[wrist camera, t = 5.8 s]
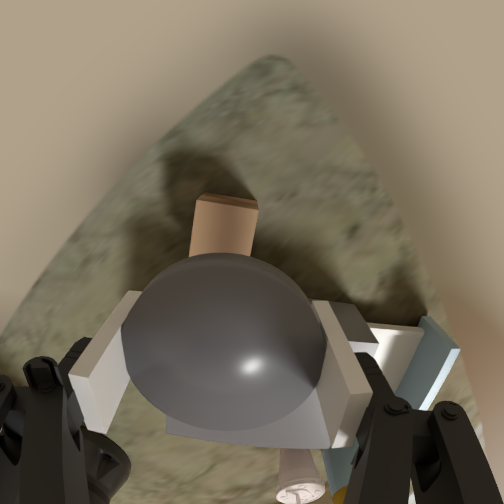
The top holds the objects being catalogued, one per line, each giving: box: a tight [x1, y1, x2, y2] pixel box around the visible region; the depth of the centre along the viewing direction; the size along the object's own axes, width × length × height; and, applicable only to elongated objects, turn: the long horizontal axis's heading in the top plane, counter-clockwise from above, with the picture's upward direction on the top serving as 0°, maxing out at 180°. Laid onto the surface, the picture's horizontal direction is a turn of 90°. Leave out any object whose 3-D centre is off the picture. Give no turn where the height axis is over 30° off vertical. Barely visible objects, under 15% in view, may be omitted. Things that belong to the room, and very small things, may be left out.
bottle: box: [322, 438, 359, 504], centre depth 34 cm, size 7×7×15 cm
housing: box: [166, 298, 379, 449], centre depth 32 cm, size 18×15×8 cm
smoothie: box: [275, 448, 325, 504], centre depth 34 cm, size 6×6×14 cm
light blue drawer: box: [366, 316, 460, 411], centre depth 32 cm, size 18×14×7 cm
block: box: [189, 192, 259, 257], centre depth 29 cm, size 5×5×5 cm
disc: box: [121, 253, 325, 431], centre depth 13 cm, size 8×8×2 cm
